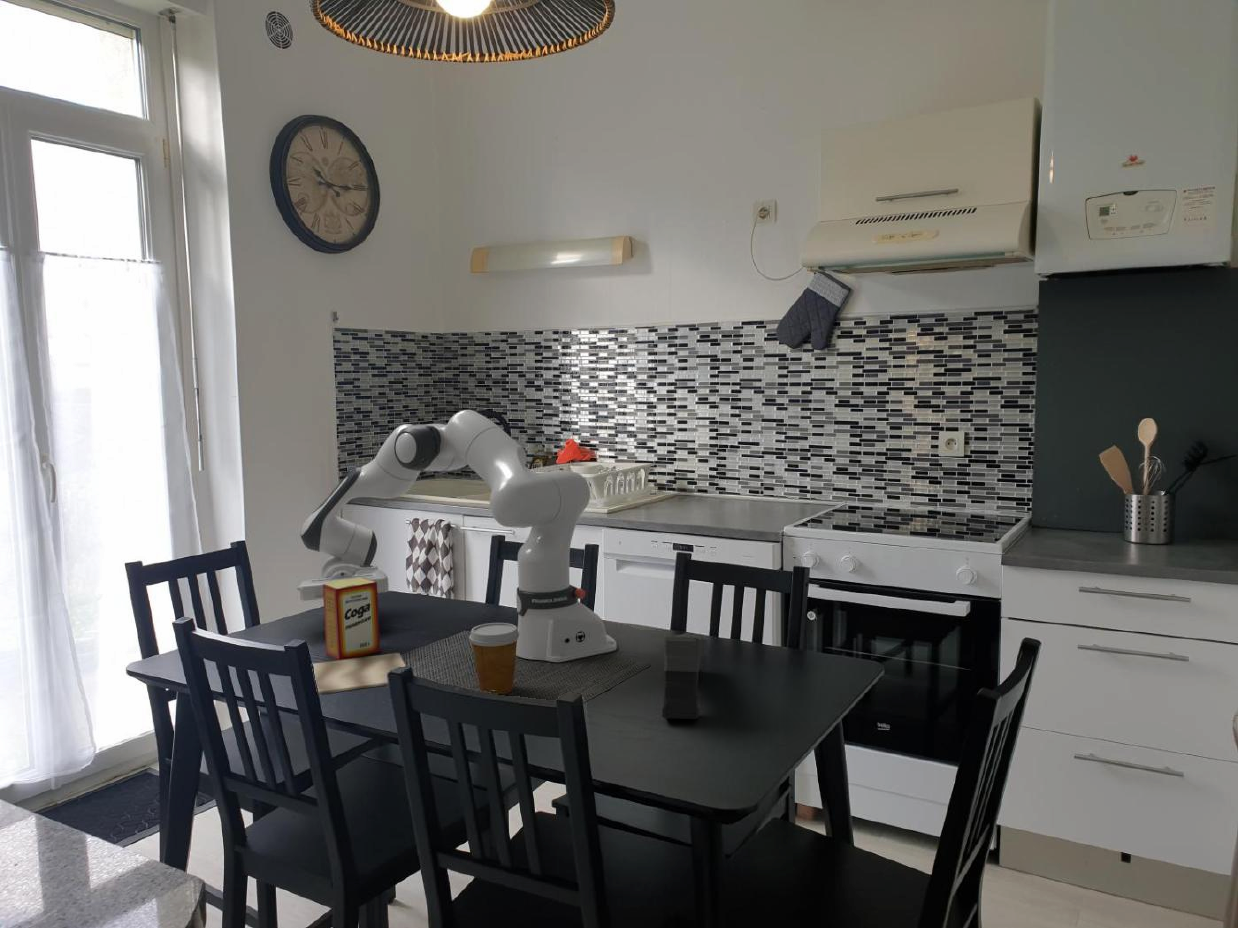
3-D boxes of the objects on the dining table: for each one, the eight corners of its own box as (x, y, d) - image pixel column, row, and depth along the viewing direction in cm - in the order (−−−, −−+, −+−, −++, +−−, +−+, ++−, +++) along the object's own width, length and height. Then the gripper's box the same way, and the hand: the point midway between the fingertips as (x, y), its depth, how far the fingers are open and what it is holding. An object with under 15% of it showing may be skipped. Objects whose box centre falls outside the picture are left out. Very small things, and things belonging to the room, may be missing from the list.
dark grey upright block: (659, 718, 157) (661, 628, 160) (674, 710, 186) (676, 634, 189) (698, 720, 156) (699, 629, 159) (707, 712, 185) (708, 635, 188)
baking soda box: (366, 645, 209) (363, 575, 208) (380, 651, 205) (376, 580, 203) (326, 654, 203) (322, 582, 202) (339, 660, 198) (335, 587, 197)
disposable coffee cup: (505, 678, 184) (503, 619, 183) (530, 690, 177) (528, 629, 176) (462, 688, 179) (460, 628, 178) (486, 702, 171) (483, 638, 170)
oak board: (398, 654, 202) (398, 652, 201) (412, 681, 184) (412, 678, 184) (311, 666, 195) (311, 663, 195) (317, 694, 177) (317, 691, 177)
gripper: (296, 573, 222) (298, 584, 210) (383, 564, 230) (390, 575, 217) (297, 599, 223) (300, 612, 210) (384, 589, 230) (392, 601, 218)
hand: (346, 593), depth 214 cm, fingers closed
